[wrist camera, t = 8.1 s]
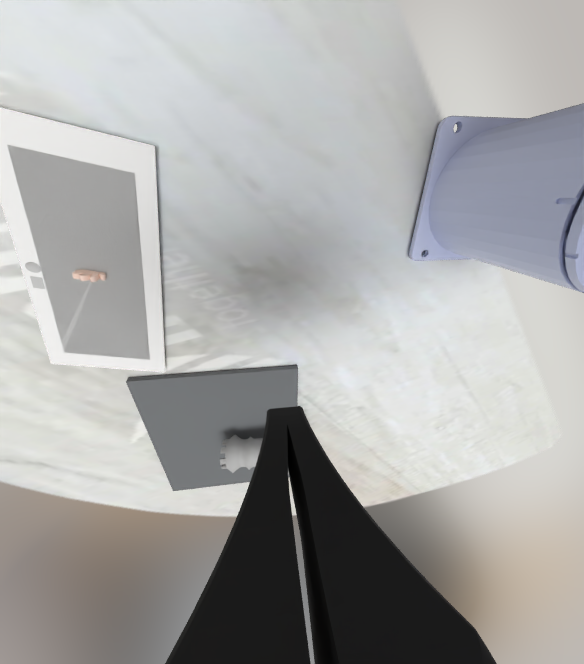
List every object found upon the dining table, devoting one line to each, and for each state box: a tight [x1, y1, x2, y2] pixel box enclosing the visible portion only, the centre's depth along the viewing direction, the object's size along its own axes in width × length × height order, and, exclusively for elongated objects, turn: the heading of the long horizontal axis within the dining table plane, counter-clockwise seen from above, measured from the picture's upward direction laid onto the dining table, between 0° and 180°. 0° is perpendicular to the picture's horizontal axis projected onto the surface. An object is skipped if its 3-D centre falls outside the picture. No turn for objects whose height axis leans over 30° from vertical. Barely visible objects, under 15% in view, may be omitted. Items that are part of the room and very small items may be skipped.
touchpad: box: [0, 107, 165, 372], centre depth 16 cm, size 8×15×2 cm, turn 168°
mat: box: [126, 365, 298, 491], centre depth 25 cm, size 14×16×1 cm
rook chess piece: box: [220, 435, 289, 474], centre depth 23 cm, size 4×4×8 cm
